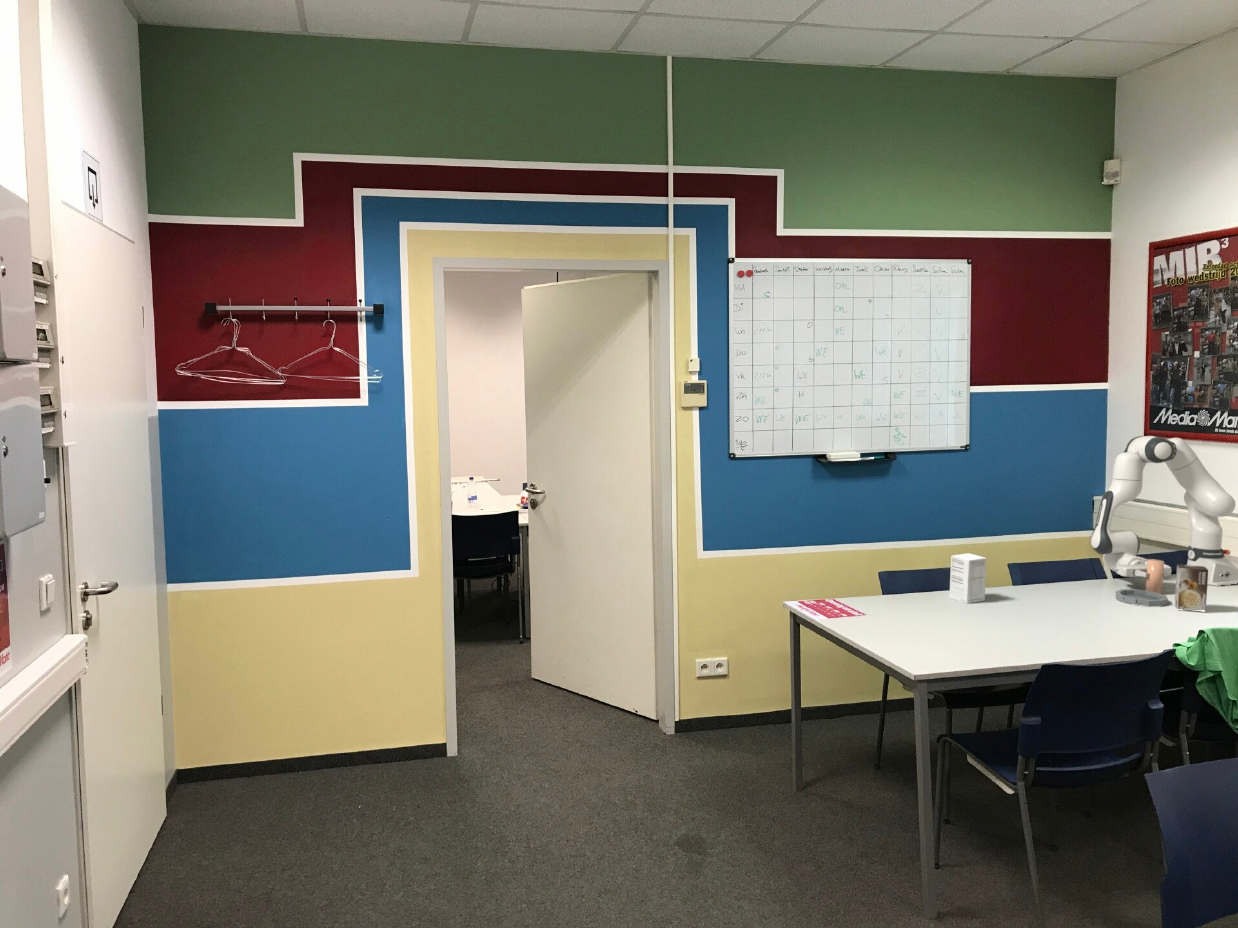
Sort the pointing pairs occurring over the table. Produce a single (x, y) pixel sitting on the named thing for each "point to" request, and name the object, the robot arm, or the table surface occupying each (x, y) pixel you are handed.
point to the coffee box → (1191, 587)
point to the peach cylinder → (1155, 575)
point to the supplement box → (968, 578)
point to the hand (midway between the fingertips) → (1156, 575)
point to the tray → (1141, 597)
